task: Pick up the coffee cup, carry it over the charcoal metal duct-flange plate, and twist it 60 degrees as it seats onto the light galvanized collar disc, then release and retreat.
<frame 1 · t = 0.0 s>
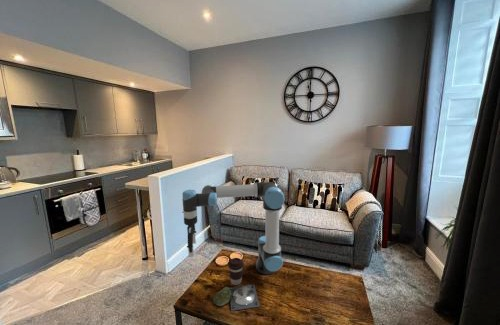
hand: (192, 249, 127), 28 cm above the table, fingers open, 13 cm apart
duct flange: (243, 297, 126), on the table
seashell: (222, 299, 125), on the table, touching duct flange
coffee cup: (236, 281, 139), on the table
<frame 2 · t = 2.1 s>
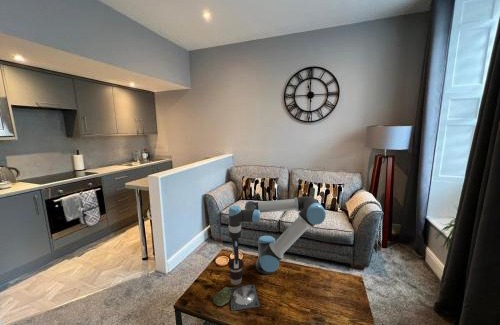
hand: (235, 260, 137), 15 cm above the table, fingers open, 13 cm apart
nothing on the table moved.
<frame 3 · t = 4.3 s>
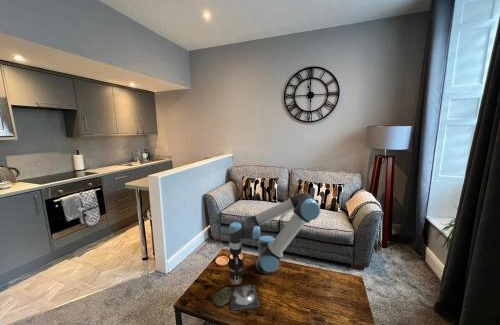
hand: (236, 278, 139), 2 cm above the table, fingers closed on coffee cup, 8 cm apart
coffee cup: (236, 281, 139), on the table, touching gripper
everything else where it was.
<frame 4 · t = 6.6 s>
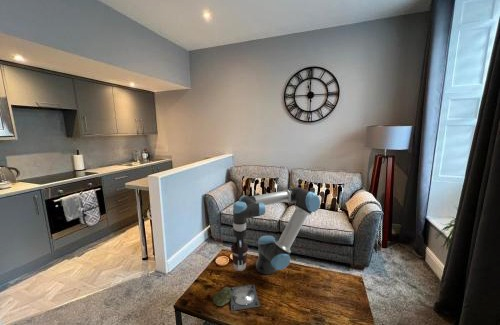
hand: (239, 263, 127), 20 cm above the table, fingers closed on coffee cup, 8 cm apart
coffee cup: (239, 267, 127), point 17 cm above the table, touching gripper
everything else where it was.
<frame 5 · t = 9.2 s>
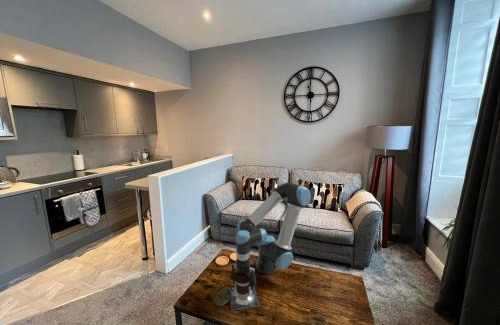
hand: (243, 292, 126), 4 cm above the table, fingers closed on coffee cup, 8 cm apart
coffee cup: (243, 295, 126), point 1 cm above the table, touching duct flange, gripper
everything else where it was.
when the fingers open (4 cm above the table, at t = 9.9 s): coffee cup stays where it is, resting on duct flange.
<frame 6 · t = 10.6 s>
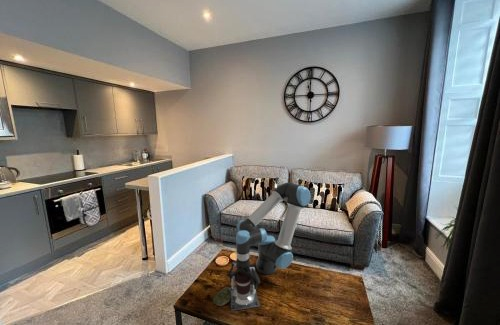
hand: (243, 290, 125), 5 cm above the table, fingers open, 13 cm apart
coffee cup: (243, 295, 126), point 1 cm above the table, touching duct flange
everything else where it was.
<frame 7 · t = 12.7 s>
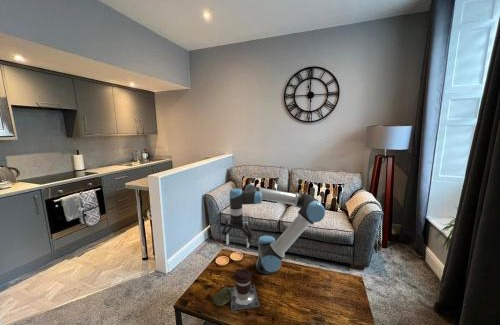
hand: (237, 245, 133), 27 cm above the table, fingers open, 13 cm apart
nothing on the table moved.
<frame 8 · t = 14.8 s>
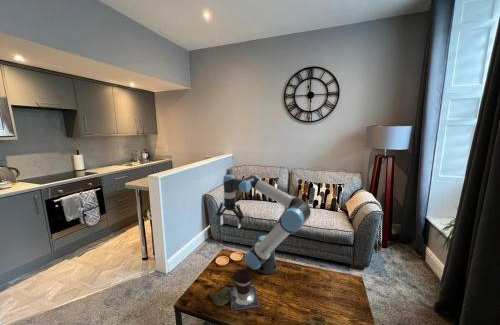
hand: (230, 226, 148), 32 cm above the table, fingers open, 13 cm apart
nothing on the table moved.
at the end: coffee cup inside the target area on the duct flange (0.1 cm from its centre), point 1.3 cm above the duct flange's base; coffee cup tilted 0°; the gripper is holding nothing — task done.
